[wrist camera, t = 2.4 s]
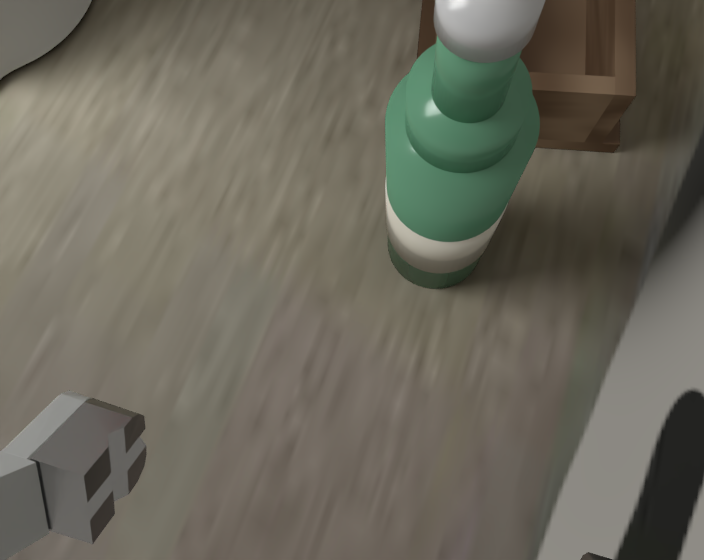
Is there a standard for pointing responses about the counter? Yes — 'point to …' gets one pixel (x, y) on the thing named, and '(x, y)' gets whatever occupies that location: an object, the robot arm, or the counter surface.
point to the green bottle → (459, 138)
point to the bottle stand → (575, 70)
